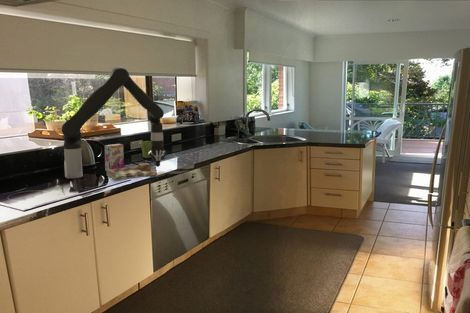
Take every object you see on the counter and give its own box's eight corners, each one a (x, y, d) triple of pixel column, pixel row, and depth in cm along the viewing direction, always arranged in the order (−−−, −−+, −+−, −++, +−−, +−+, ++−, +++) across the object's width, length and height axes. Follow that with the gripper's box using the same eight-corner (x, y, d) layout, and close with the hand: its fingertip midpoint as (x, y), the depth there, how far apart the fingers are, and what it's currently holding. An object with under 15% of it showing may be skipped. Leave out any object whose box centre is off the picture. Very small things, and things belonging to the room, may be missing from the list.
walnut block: (141, 171, 246) (141, 165, 245) (138, 169, 250) (137, 163, 250) (150, 169, 249) (150, 164, 248) (147, 168, 254) (146, 162, 253)
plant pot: (139, 156, 304) (138, 141, 302) (155, 155, 307) (154, 140, 305) (140, 159, 293) (140, 143, 291) (157, 158, 296) (156, 143, 294)
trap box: (114, 180, 230) (114, 172, 229) (106, 175, 241) (106, 168, 241) (156, 174, 245) (156, 167, 244) (147, 170, 256) (147, 163, 255)
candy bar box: (109, 172, 250) (108, 146, 247) (105, 171, 254) (103, 145, 250) (124, 169, 259) (123, 144, 256) (120, 168, 262) (119, 143, 259)
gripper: (149, 140, 244) (150, 168, 248) (169, 139, 252) (169, 166, 255) (144, 139, 251) (145, 166, 254) (164, 137, 258) (164, 164, 261)
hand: (157, 166), depth 254 cm, fingers closed
